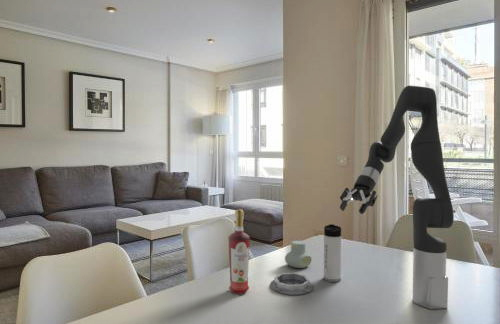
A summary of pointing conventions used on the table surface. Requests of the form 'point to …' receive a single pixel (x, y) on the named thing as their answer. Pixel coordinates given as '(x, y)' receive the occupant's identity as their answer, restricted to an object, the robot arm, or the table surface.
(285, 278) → the collar
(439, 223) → the robot arm
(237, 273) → the liquor
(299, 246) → the air freshener
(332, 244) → the travel mug
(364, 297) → the table surface
